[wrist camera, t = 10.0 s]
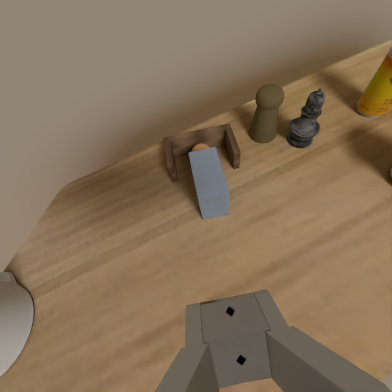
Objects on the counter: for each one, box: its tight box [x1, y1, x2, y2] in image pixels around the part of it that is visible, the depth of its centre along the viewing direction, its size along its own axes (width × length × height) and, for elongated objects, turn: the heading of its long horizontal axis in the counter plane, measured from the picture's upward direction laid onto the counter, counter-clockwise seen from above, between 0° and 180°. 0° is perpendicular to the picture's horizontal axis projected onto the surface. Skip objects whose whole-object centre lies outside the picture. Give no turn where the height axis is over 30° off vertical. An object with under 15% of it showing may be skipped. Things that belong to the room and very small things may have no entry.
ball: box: [191, 143, 210, 152], centre depth 44 cm, size 4×4×4 cm
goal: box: [163, 124, 240, 182], centre depth 44 cm, size 14×8×5 cm, turn 100°
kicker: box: [189, 147, 230, 220], centre depth 38 cm, size 5×10×8 cm, turn 10°
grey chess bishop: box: [287, 88, 325, 148], centre depth 41 cm, size 6×6×12 cm
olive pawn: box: [249, 84, 284, 143], centre depth 43 cm, size 6×6×11 cm
